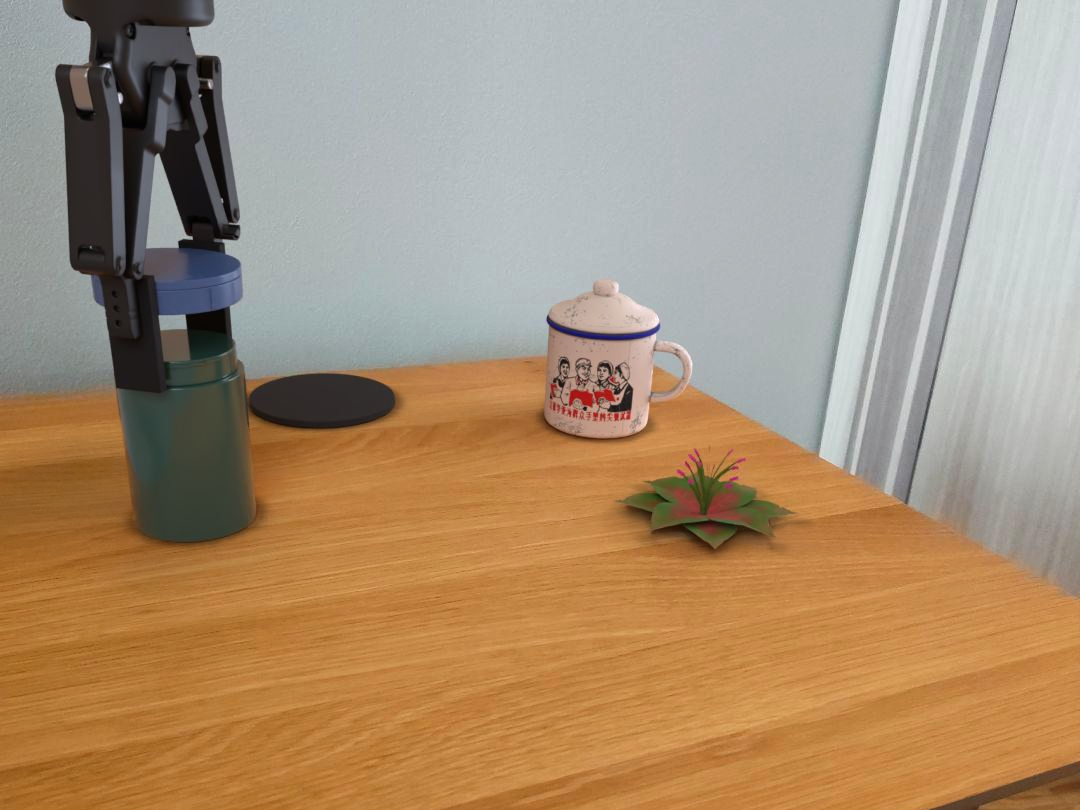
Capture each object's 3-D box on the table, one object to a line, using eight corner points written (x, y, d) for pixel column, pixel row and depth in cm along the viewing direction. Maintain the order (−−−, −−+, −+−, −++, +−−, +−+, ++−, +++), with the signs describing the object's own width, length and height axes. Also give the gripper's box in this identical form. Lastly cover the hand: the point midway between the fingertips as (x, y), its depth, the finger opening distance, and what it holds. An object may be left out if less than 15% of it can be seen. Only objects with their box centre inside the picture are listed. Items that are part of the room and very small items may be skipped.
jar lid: (273, 299, 63) (271, 267, 62) (147, 324, 57) (144, 289, 56) (189, 271, 68) (186, 241, 67) (65, 292, 62) (60, 259, 61)
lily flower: (581, 508, 73) (585, 446, 71) (694, 467, 80) (701, 410, 78) (717, 575, 65) (726, 508, 63) (828, 523, 73) (839, 462, 71)
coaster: (219, 401, 88) (218, 394, 88) (330, 370, 97) (330, 364, 96) (314, 440, 82) (313, 432, 81) (424, 403, 90) (424, 396, 90)
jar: (110, 516, 68) (84, 342, 63) (210, 482, 74) (194, 320, 69) (179, 554, 64) (157, 372, 59) (280, 516, 70) (268, 346, 64)
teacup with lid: (529, 432, 85) (536, 288, 80) (553, 397, 93) (561, 263, 88) (678, 452, 83) (695, 305, 78) (690, 414, 91) (706, 278, 86)
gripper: (90, -71, 44) (152, 433, 55) (280, -49, 63) (299, 324, 73) (-74, -81, 45) (17, 418, 56) (162, -56, 64) (197, 314, 74)
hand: (178, 364), depth 65 cm, fingers closed on jar lid, 8 cm apart
